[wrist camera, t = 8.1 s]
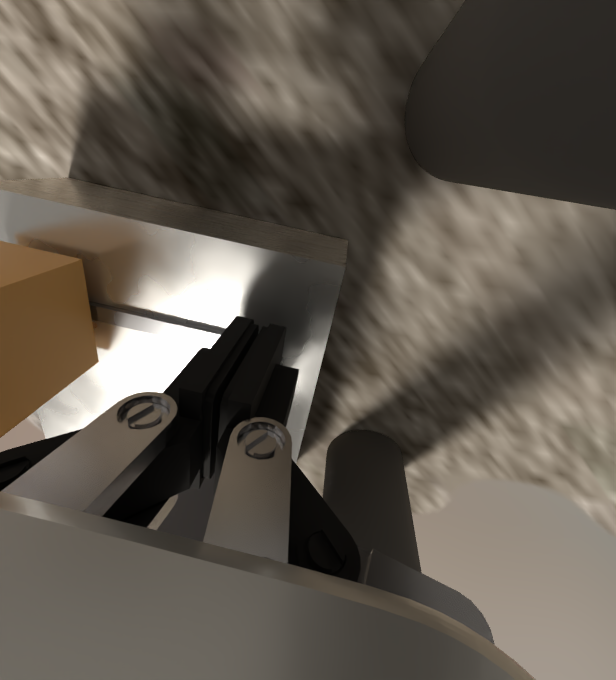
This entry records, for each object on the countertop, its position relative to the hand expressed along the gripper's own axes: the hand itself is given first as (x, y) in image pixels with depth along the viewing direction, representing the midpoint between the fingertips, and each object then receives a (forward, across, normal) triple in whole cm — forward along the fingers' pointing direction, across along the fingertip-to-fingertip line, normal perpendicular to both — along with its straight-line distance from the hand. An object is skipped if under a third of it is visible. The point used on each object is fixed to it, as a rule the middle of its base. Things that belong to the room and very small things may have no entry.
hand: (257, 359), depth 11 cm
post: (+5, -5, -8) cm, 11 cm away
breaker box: (+5, +4, +3) cm, 7 cm away
